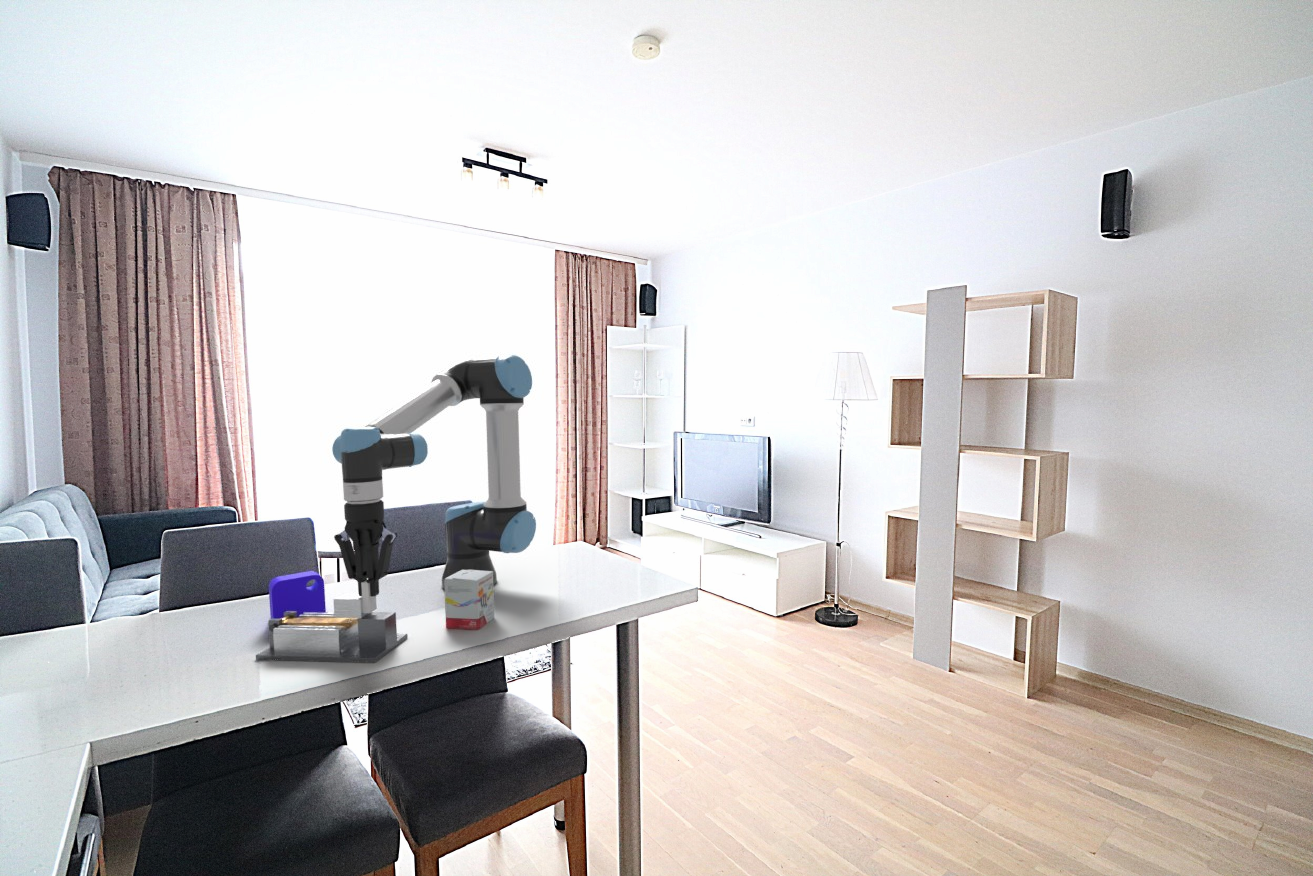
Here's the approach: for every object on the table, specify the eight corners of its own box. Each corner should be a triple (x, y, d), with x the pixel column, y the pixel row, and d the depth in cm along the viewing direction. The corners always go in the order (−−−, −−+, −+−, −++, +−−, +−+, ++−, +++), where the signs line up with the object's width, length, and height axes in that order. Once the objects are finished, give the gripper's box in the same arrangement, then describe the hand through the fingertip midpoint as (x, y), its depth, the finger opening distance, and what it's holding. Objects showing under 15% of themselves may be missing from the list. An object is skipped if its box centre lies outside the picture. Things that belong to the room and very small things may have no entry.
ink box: (478, 630, 141) (476, 579, 141) (444, 628, 143) (442, 578, 142) (495, 617, 150) (493, 569, 149) (463, 615, 152) (461, 568, 151)
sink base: (298, 635, 141) (296, 603, 140) (407, 638, 138) (405, 605, 137) (255, 659, 128) (253, 624, 127) (374, 662, 125) (373, 627, 124)
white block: (346, 611, 134) (344, 593, 134) (372, 611, 133) (371, 593, 133) (334, 617, 130) (333, 599, 130) (361, 618, 129) (360, 599, 129)
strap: (282, 624, 135) (281, 616, 135) (359, 624, 133) (358, 615, 133) (272, 629, 132) (271, 621, 132) (351, 629, 130) (350, 620, 130)
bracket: (326, 620, 150) (323, 573, 150) (274, 632, 143) (271, 582, 143) (310, 602, 164) (308, 559, 163) (262, 612, 157) (259, 567, 157)
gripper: (323, 504, 127) (330, 616, 128) (383, 503, 125) (389, 617, 127) (345, 498, 134) (351, 604, 136) (402, 497, 133) (407, 605, 134)
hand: (369, 610), depth 131 cm, fingers closed
